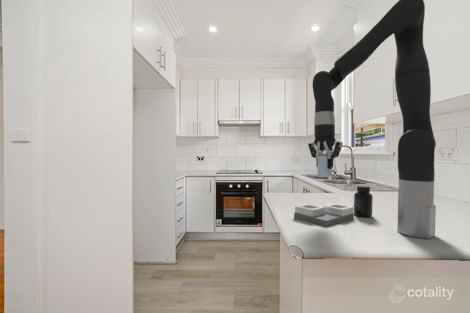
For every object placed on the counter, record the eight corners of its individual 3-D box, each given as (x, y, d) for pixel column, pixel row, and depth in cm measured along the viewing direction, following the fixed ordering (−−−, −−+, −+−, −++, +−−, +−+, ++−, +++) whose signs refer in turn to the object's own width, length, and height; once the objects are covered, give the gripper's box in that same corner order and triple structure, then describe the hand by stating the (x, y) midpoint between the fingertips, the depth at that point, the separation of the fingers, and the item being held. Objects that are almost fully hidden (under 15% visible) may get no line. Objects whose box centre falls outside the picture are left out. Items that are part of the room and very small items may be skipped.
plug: (331, 176, 97) (331, 153, 97) (326, 177, 94) (326, 153, 94) (322, 176, 100) (322, 153, 100) (317, 176, 97) (317, 153, 97)
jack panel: (353, 218, 98) (353, 206, 98) (326, 226, 86) (326, 213, 86) (322, 211, 109) (322, 201, 109) (294, 217, 98) (294, 206, 97)
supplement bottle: (375, 217, 99) (376, 187, 99) (358, 217, 99) (359, 187, 99) (366, 213, 106) (367, 185, 106) (350, 213, 106) (351, 185, 106)
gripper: (347, 123, 94) (347, 169, 94) (314, 126, 105) (314, 167, 105) (336, 121, 89) (336, 169, 89) (303, 125, 100) (303, 168, 100)
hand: (324, 168), depth 97 cm, fingers closed on plug, 3 cm apart
